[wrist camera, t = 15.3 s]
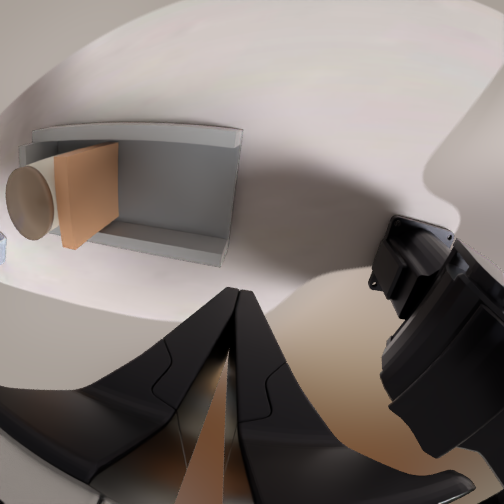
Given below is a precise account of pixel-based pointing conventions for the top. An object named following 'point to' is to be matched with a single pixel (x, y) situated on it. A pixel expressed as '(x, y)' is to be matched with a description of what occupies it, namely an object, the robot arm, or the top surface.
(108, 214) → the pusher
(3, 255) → the medicine box
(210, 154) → the grey tray
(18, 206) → the cream brown-topped cylinder
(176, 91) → the top surface
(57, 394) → the robot arm
